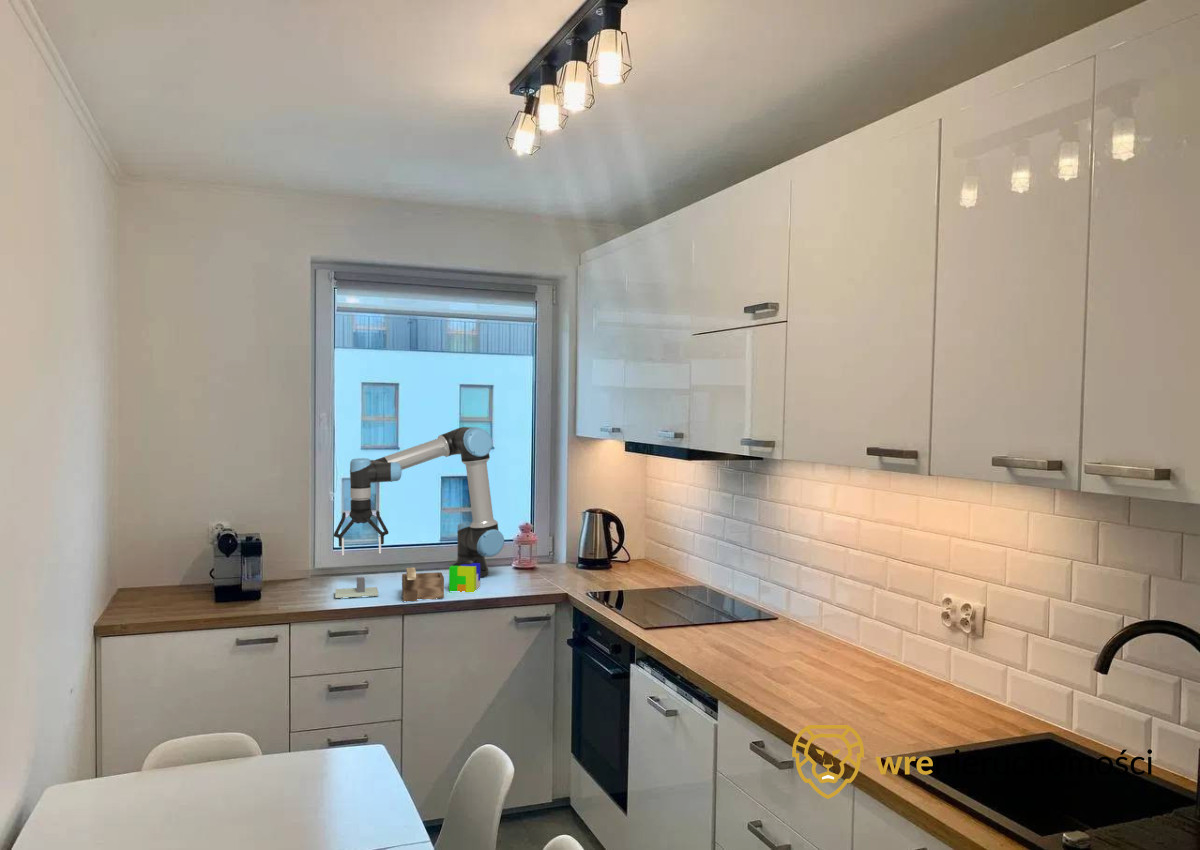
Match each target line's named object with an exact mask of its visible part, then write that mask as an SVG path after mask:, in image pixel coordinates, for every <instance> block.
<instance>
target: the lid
mask: <svg viewBox="0 0 1200 850" xmlns="http://www.w3.org/2000/svg"><path fill="white" fill-rule="evenodd" d="M378 589H379V588H378V587H377V586H372V587H371V586H370V587H366V580H365V577H363V576H361V577H356V587H352V588H348V587H346V588H335V590H334V591H335V592H334V594H335V595H334V596H335V597H334V598H336V599H339V598H343V597H362V596H373V597H374V596H375V597H377V596H379V590H378Z"/></svg>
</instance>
